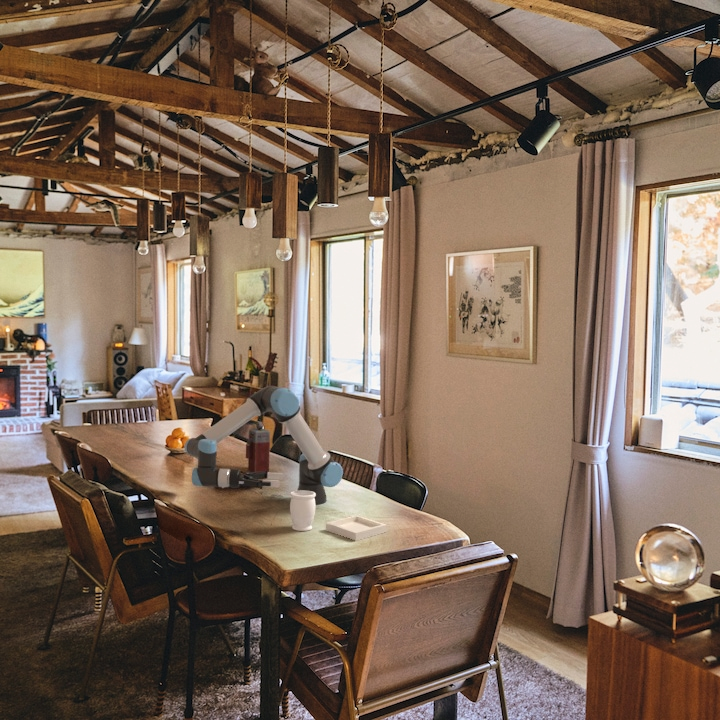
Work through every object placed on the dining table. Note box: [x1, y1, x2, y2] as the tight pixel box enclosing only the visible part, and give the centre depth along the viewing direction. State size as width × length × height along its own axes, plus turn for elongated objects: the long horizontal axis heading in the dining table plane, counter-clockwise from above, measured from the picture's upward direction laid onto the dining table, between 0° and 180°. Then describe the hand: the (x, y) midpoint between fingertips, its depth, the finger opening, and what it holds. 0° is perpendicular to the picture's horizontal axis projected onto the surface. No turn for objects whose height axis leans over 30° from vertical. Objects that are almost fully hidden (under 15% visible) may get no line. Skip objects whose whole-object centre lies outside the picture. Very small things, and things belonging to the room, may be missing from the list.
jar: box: [289, 490, 317, 532], centre depth 293 cm, size 11×10×15 cm
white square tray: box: [325, 514, 388, 542], centre depth 292 cm, size 18×18×3 cm
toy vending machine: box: [245, 421, 271, 473], centre depth 396 cm, size 9×11×28 cm
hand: (281, 480), depth 292 cm, fingers open, 13 cm apart
